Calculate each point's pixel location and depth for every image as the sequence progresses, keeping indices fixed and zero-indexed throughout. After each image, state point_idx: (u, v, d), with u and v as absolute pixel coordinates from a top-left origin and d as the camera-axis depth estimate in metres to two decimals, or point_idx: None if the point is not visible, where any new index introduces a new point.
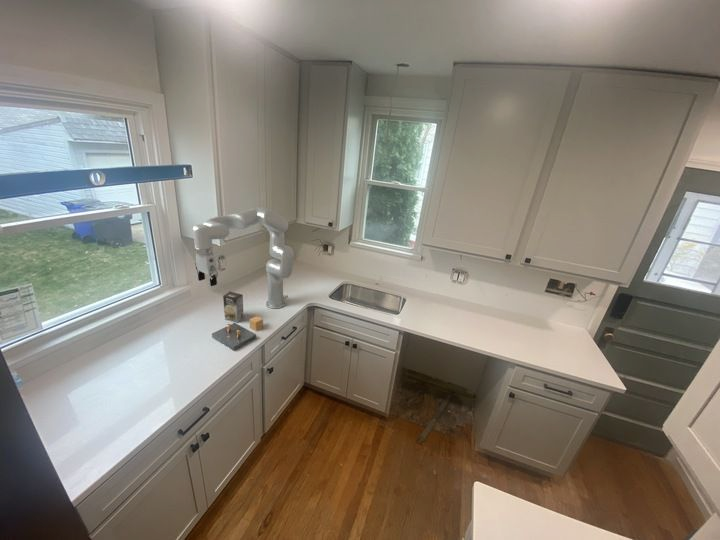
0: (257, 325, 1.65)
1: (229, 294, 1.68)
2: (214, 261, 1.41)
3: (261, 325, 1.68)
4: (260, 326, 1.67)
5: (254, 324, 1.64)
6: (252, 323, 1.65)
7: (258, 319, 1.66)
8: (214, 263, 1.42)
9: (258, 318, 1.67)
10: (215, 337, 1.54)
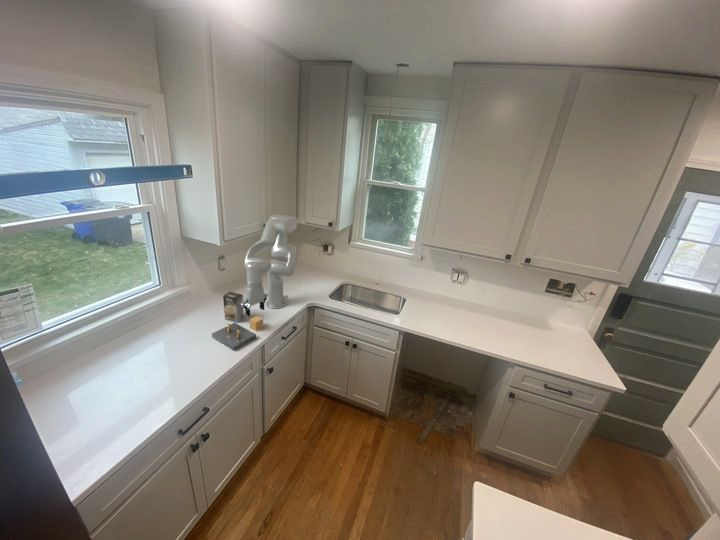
0: (257, 325, 1.65)
1: (229, 294, 1.68)
2: None
3: (261, 325, 1.68)
4: (260, 326, 1.67)
5: (254, 324, 1.64)
6: (252, 323, 1.65)
7: (258, 319, 1.66)
8: None
9: (258, 318, 1.67)
10: (215, 337, 1.54)
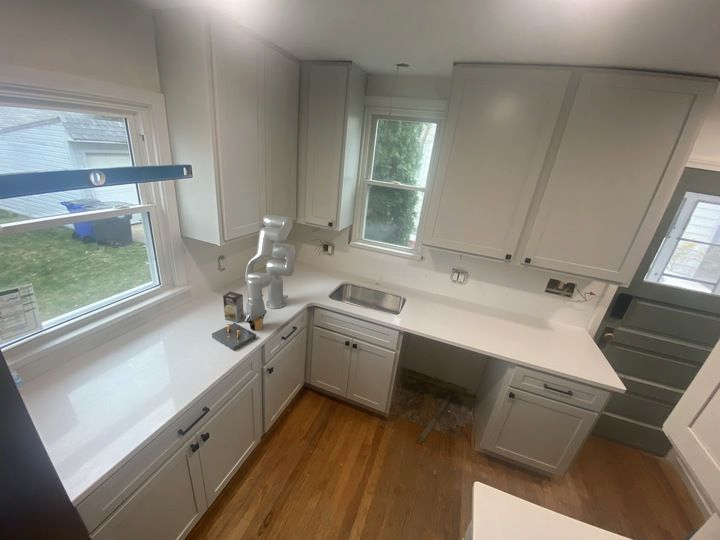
0: (257, 325, 1.65)
1: (229, 294, 1.68)
2: None
3: (261, 325, 1.68)
4: (260, 326, 1.67)
5: None
6: None
7: (258, 319, 1.66)
8: None
9: (258, 318, 1.67)
10: (215, 337, 1.54)
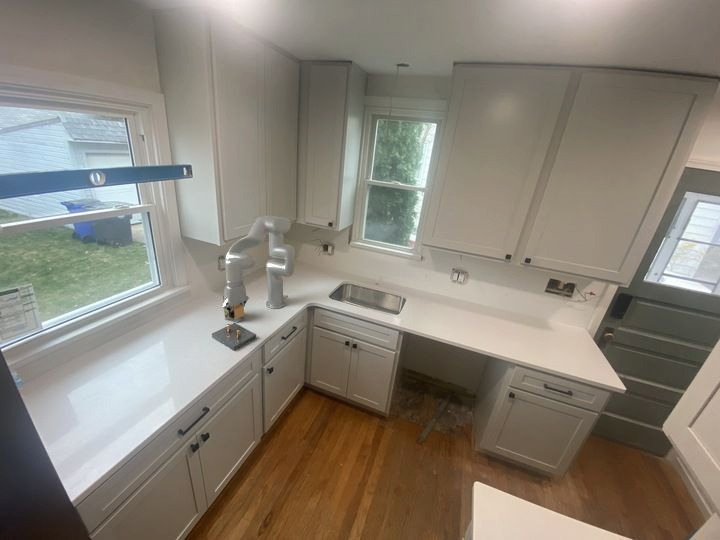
0: (237, 313, 1.46)
1: None
2: None
3: (242, 313, 1.49)
4: (241, 314, 1.48)
5: (234, 311, 1.45)
6: None
7: (238, 306, 1.47)
8: None
9: (238, 305, 1.48)
10: (215, 337, 1.54)
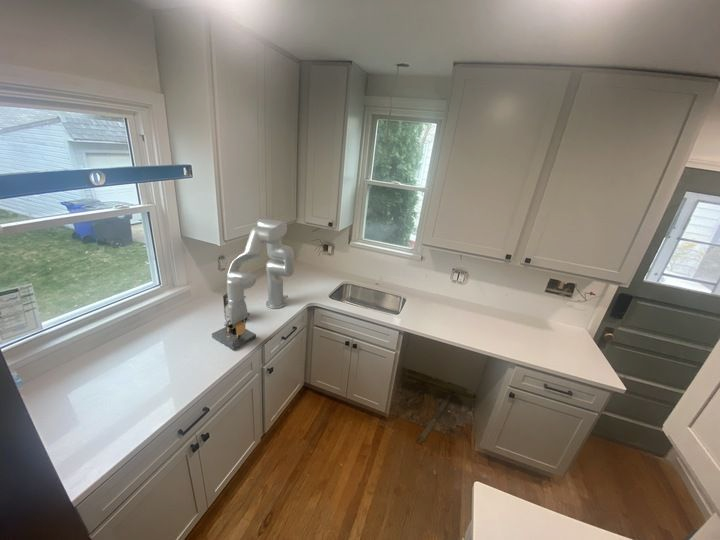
0: (238, 330, 1.50)
1: None
2: None
3: (243, 330, 1.53)
4: (242, 331, 1.52)
5: (235, 328, 1.49)
6: None
7: (240, 323, 1.51)
8: None
9: (240, 322, 1.52)
10: (215, 337, 1.54)
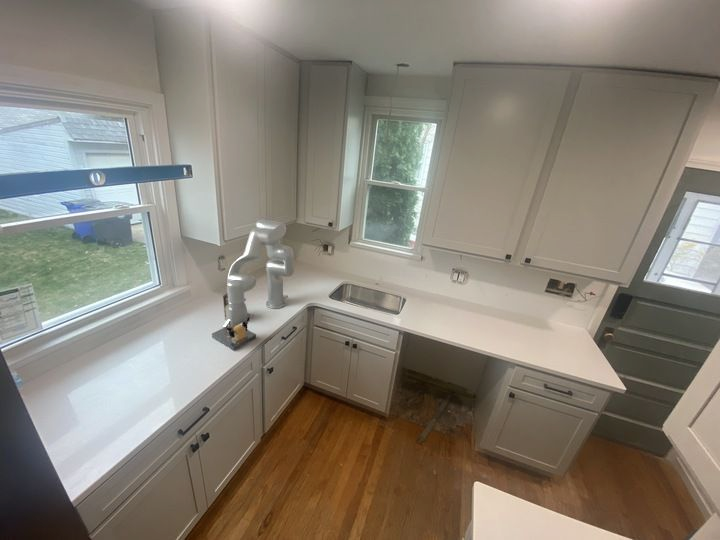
0: (239, 334, 1.51)
1: None
2: None
3: (244, 335, 1.54)
4: (243, 335, 1.53)
5: (236, 333, 1.50)
6: None
7: (240, 328, 1.53)
8: None
9: (240, 327, 1.53)
10: (215, 337, 1.54)
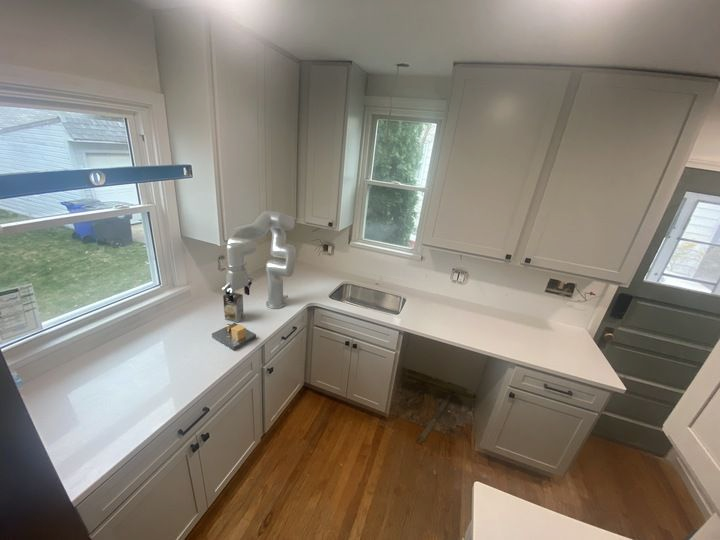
0: (239, 334, 1.51)
1: None
2: None
3: (244, 335, 1.54)
4: (243, 335, 1.53)
5: (236, 333, 1.50)
6: (233, 332, 1.51)
7: (240, 328, 1.53)
8: None
9: (240, 327, 1.53)
10: (215, 337, 1.54)
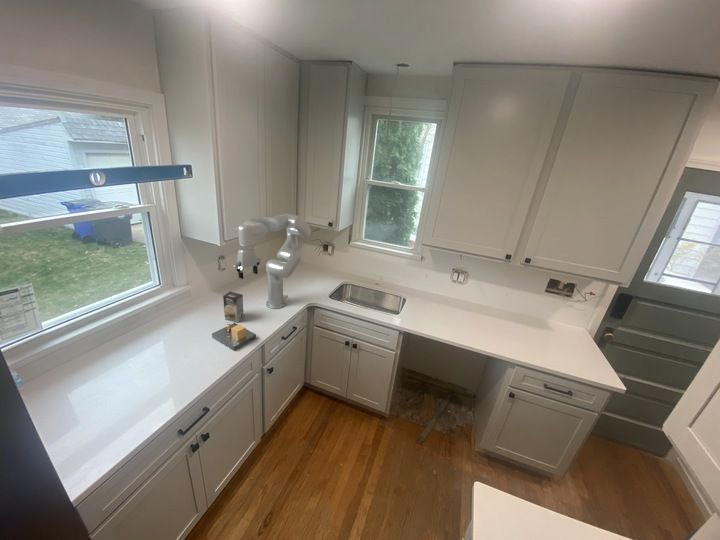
0: (239, 334, 1.51)
1: (229, 294, 1.68)
2: None
3: (244, 335, 1.54)
4: (243, 335, 1.53)
5: (236, 333, 1.50)
6: (233, 332, 1.51)
7: (240, 328, 1.53)
8: None
9: (240, 327, 1.53)
10: (215, 337, 1.54)
